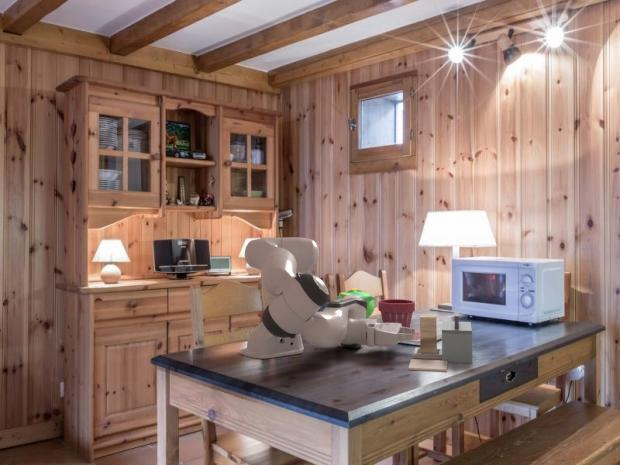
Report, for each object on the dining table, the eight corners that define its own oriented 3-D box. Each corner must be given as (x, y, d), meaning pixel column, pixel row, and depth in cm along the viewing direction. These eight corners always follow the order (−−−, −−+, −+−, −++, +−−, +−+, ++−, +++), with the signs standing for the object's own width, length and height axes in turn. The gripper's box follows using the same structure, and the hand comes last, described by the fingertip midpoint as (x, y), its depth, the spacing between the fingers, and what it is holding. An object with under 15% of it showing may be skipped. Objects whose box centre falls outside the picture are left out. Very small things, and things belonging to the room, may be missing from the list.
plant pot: (416, 330, 227) (416, 299, 227) (413, 337, 214) (413, 303, 214) (381, 329, 231) (381, 298, 231) (376, 336, 218) (375, 303, 218)
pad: (446, 371, 163) (446, 369, 163) (408, 369, 166) (408, 367, 166) (447, 362, 174) (447, 360, 174) (411, 361, 177) (411, 359, 177)
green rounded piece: (372, 317, 262) (371, 286, 261) (377, 323, 245) (377, 290, 245) (333, 318, 261) (332, 286, 261) (336, 324, 244) (335, 290, 244)
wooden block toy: (472, 363, 173) (471, 317, 172) (412, 360, 177) (412, 316, 177) (471, 351, 188) (470, 310, 188) (416, 349, 193) (415, 308, 192)
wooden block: (436, 357, 181) (435, 317, 180) (420, 357, 182) (419, 317, 182) (436, 354, 185) (436, 314, 185) (421, 353, 187) (420, 314, 187)
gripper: (375, 335, 199) (415, 337, 195) (368, 348, 179) (412, 350, 175) (375, 317, 198) (415, 319, 195) (368, 328, 179) (412, 330, 175)
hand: (414, 334), depth 185 cm, fingers open, 8 cm apart
